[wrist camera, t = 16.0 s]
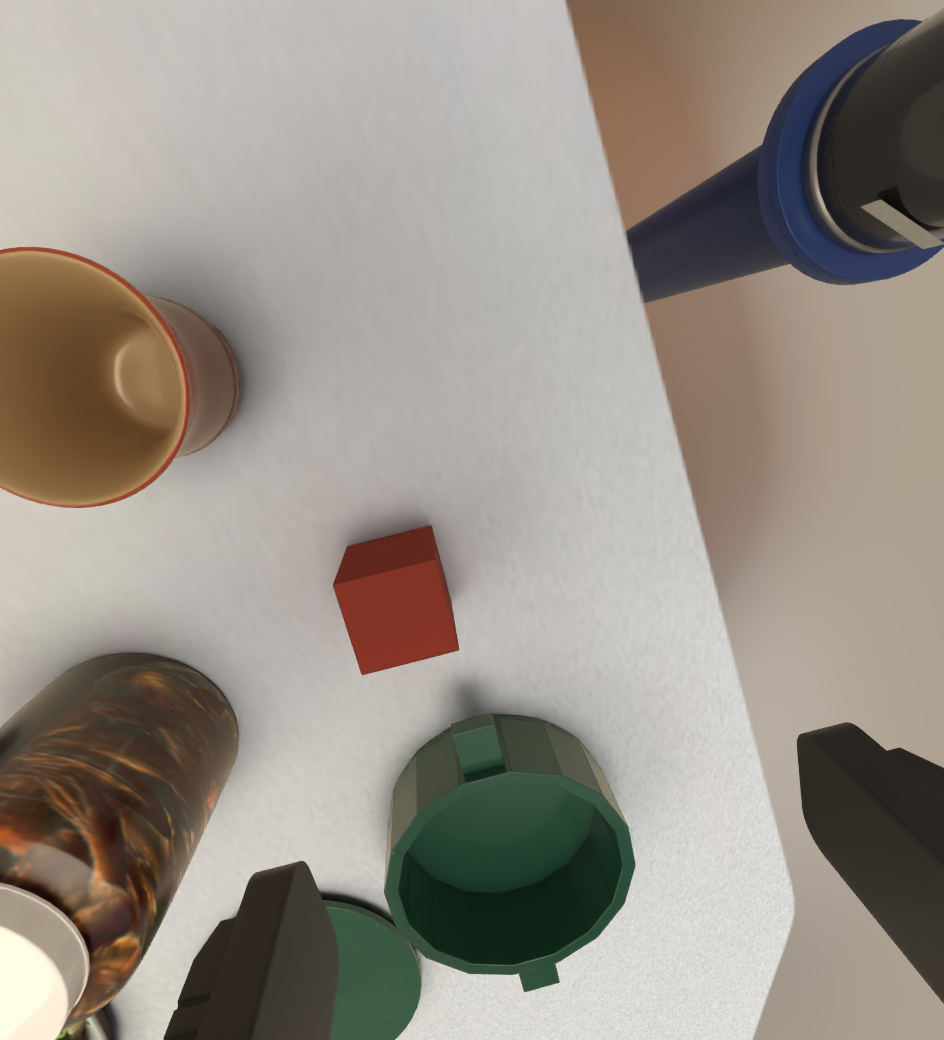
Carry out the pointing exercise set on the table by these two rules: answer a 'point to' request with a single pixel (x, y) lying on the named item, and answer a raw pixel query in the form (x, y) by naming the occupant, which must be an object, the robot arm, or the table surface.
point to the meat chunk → (396, 600)
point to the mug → (101, 381)
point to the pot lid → (372, 976)
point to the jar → (100, 829)
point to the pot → (505, 849)
